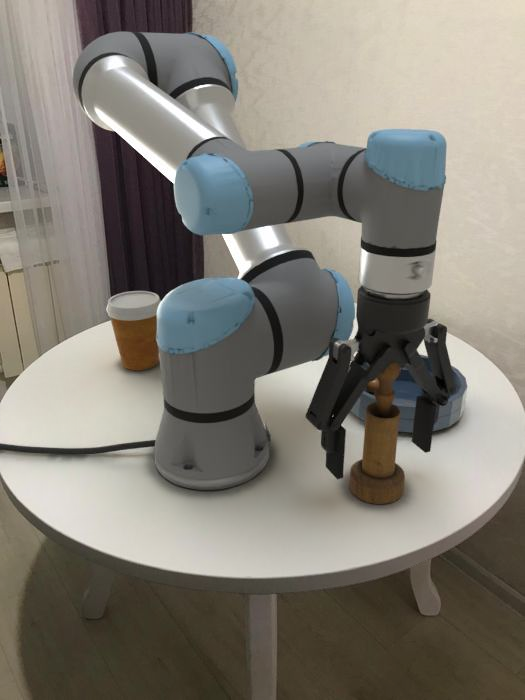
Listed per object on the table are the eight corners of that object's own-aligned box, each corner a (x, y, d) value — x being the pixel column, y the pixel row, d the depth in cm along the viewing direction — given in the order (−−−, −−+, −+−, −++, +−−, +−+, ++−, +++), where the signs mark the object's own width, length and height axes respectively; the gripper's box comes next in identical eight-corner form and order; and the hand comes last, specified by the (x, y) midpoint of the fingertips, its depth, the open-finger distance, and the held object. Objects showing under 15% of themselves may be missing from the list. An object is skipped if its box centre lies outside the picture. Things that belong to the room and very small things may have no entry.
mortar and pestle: (385, 466, 76) (397, 340, 69) (414, 497, 71) (431, 363, 63) (339, 478, 74) (347, 349, 67) (365, 510, 69) (377, 374, 61)
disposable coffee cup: (103, 362, 105) (94, 298, 100) (149, 346, 111) (143, 286, 106) (130, 380, 99) (122, 313, 94) (178, 363, 104) (173, 299, 99)
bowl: (388, 449, 80) (391, 417, 78) (324, 392, 95) (325, 364, 92) (488, 420, 87) (493, 390, 84) (413, 370, 101) (416, 344, 99)
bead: (371, 396, 91) (372, 383, 90) (362, 390, 93) (363, 376, 92) (383, 393, 92) (385, 380, 91) (375, 387, 94) (376, 373, 93)
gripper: (310, 317, 54) (305, 505, 63) (508, 281, 63) (478, 450, 72) (275, 293, 60) (275, 467, 69) (459, 263, 69) (438, 421, 78)
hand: (378, 459), depth 71 cm, fingers open, 12 cm apart
